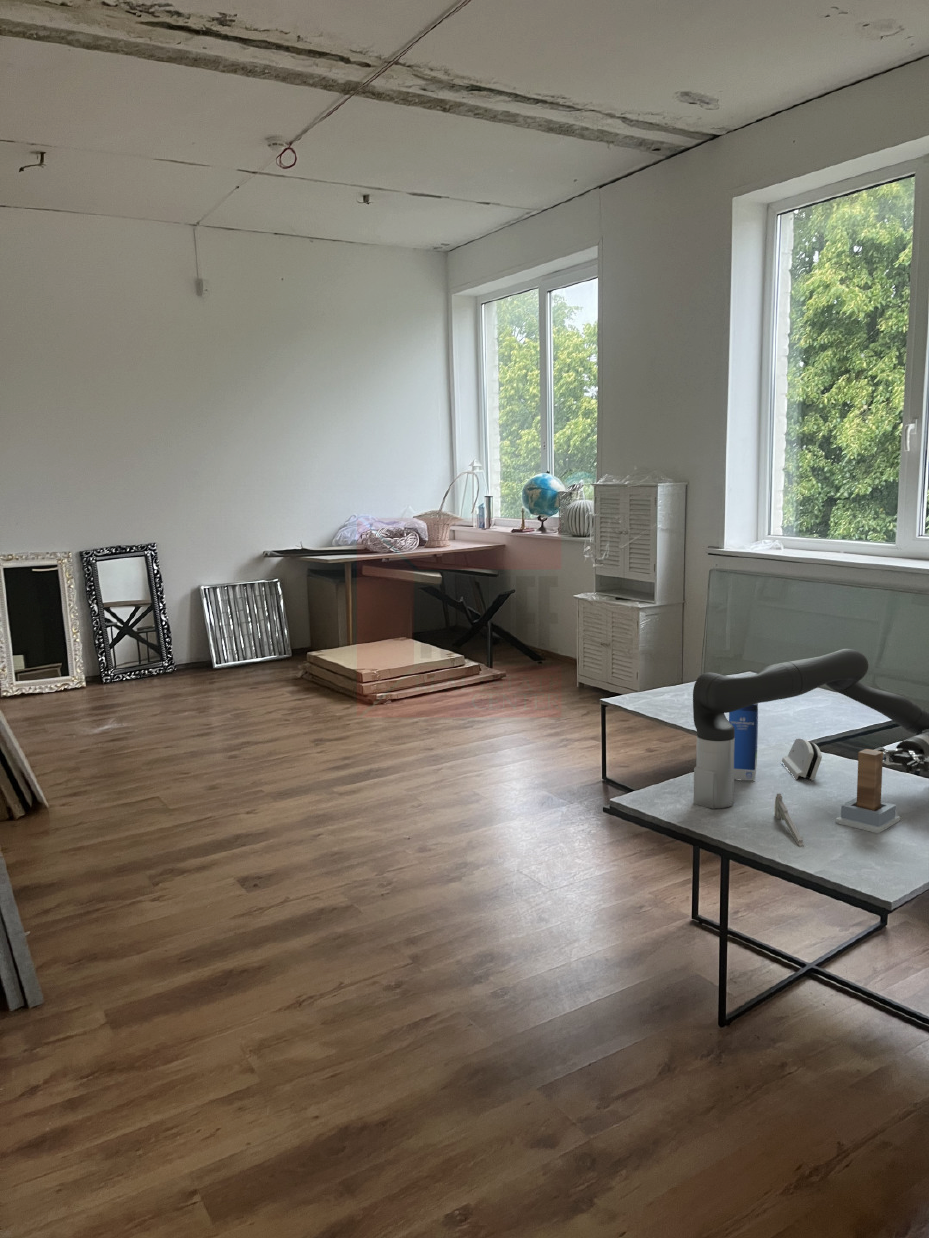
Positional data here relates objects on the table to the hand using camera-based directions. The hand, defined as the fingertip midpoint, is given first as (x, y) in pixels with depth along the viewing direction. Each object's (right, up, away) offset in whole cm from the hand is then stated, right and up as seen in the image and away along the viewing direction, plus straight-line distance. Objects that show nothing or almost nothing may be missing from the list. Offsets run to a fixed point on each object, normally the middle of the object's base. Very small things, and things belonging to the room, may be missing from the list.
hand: (889, 765), depth 219 cm
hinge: (-8, -8, +36) cm, 38 cm away
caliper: (-28, -14, -9) cm, 32 cm away
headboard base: (-7, -13, -4) cm, 15 cm away
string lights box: (-25, -8, +35) cm, 44 cm away
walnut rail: (-7, -12, -4) cm, 14 cm away
